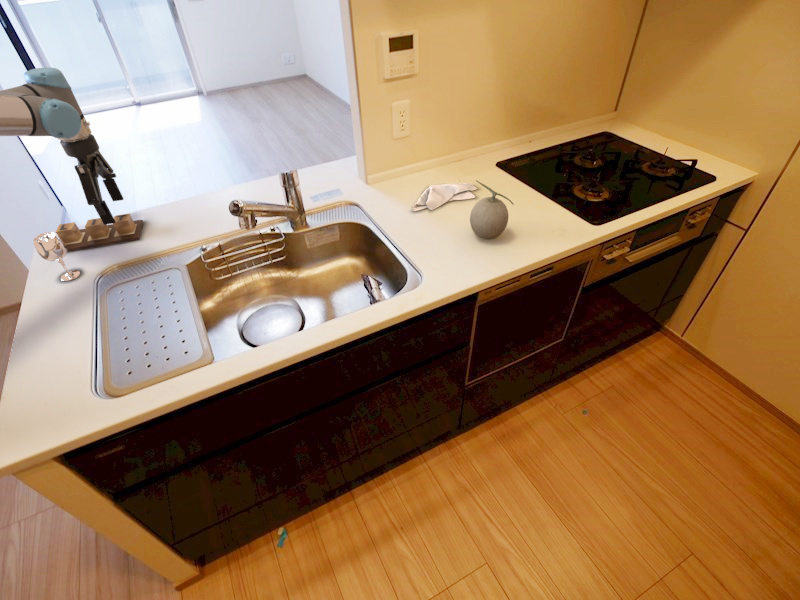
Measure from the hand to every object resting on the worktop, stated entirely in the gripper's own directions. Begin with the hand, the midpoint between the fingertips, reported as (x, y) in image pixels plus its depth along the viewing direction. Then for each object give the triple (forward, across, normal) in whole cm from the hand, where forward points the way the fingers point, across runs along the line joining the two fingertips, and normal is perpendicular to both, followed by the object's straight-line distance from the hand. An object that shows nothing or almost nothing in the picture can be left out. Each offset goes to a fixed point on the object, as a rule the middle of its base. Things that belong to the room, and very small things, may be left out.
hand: (114, 211), depth 122 cm
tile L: (+6, -1, +13) cm, 15 cm away
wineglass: (+8, -18, +11) cm, 22 cm away
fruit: (+7, -35, -102) cm, 108 cm away
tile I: (+6, 0, +6) cm, 9 cm away
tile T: (+6, 0, -1) cm, 6 cm away
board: (+7, 0, +6) cm, 10 cm away
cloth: (+7, -9, -98) cm, 98 cm away
